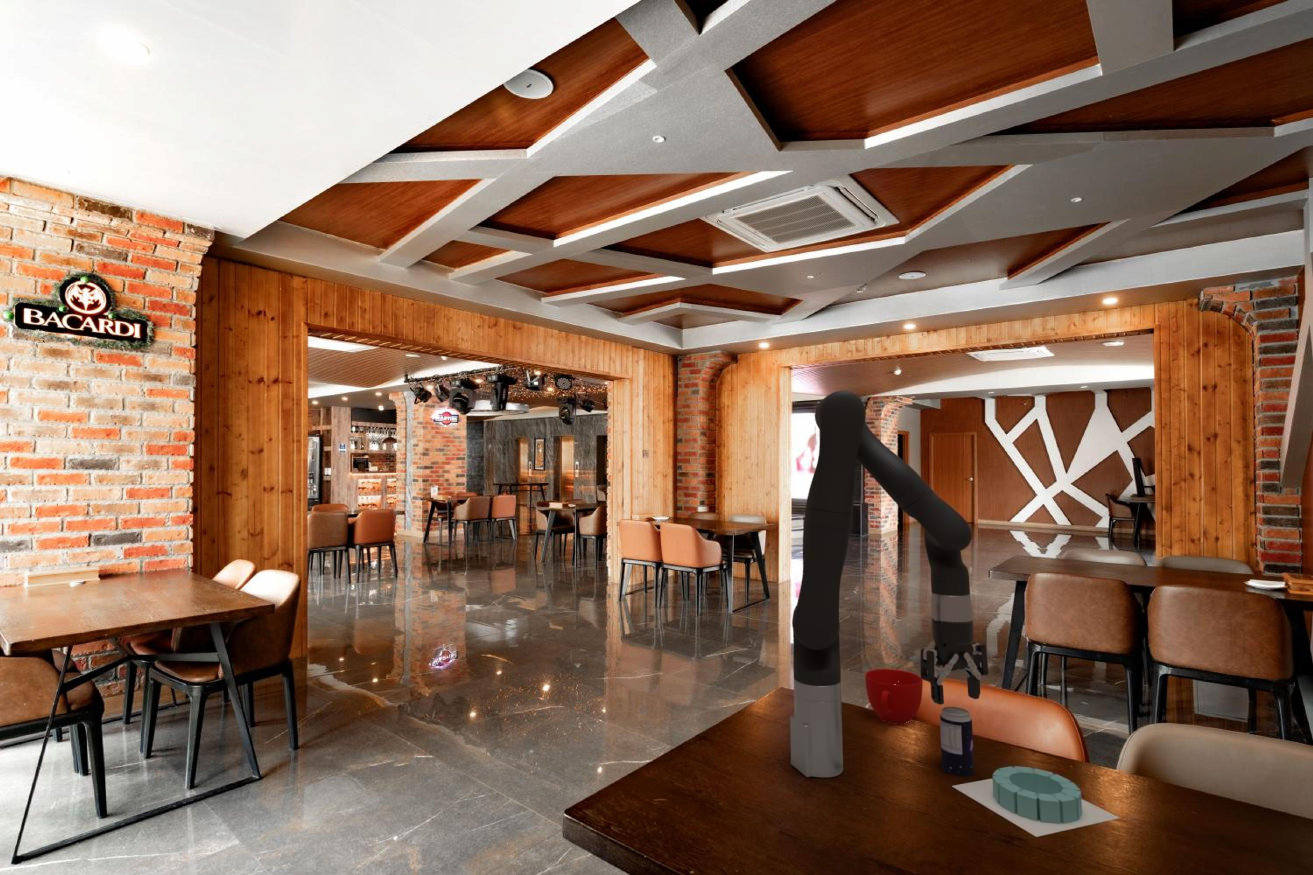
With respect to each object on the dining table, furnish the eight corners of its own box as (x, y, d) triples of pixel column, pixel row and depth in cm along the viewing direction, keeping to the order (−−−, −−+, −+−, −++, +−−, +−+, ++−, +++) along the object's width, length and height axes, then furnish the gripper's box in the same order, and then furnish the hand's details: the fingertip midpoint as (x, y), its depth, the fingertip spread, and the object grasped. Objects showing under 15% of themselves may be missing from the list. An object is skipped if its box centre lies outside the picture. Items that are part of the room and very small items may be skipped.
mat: (1036, 841, 102) (1036, 836, 102) (951, 790, 119) (951, 785, 119) (1120, 822, 107) (1119, 817, 108) (1027, 776, 125) (1027, 771, 125)
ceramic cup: (855, 728, 149) (854, 683, 150) (873, 706, 164) (872, 666, 164) (915, 739, 143) (913, 693, 143) (928, 715, 157) (926, 673, 158)
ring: (1040, 828, 104) (1039, 806, 104) (977, 792, 117) (976, 772, 117) (1099, 815, 108) (1098, 794, 108) (1033, 781, 121) (1032, 762, 121)
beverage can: (977, 782, 122) (975, 716, 123) (945, 779, 123) (943, 714, 124) (969, 768, 128) (967, 706, 129) (939, 766, 129) (936, 704, 130)
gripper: (966, 610, 133) (970, 690, 132) (908, 615, 129) (912, 699, 128) (995, 616, 126) (1000, 702, 125) (935, 623, 122) (940, 711, 121)
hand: (956, 700), depth 126 cm, fingers open, 8 cm apart
